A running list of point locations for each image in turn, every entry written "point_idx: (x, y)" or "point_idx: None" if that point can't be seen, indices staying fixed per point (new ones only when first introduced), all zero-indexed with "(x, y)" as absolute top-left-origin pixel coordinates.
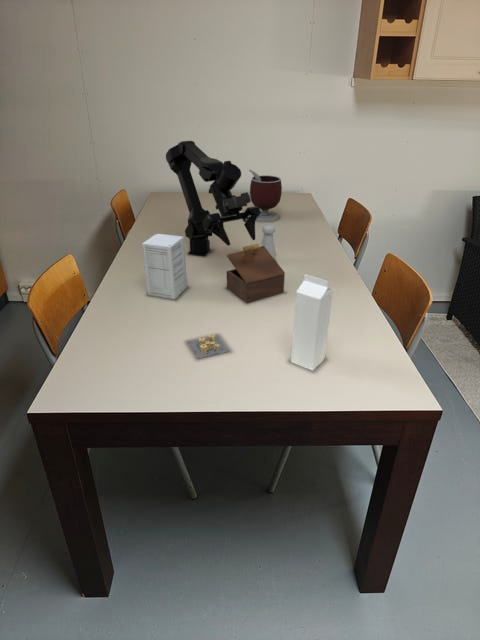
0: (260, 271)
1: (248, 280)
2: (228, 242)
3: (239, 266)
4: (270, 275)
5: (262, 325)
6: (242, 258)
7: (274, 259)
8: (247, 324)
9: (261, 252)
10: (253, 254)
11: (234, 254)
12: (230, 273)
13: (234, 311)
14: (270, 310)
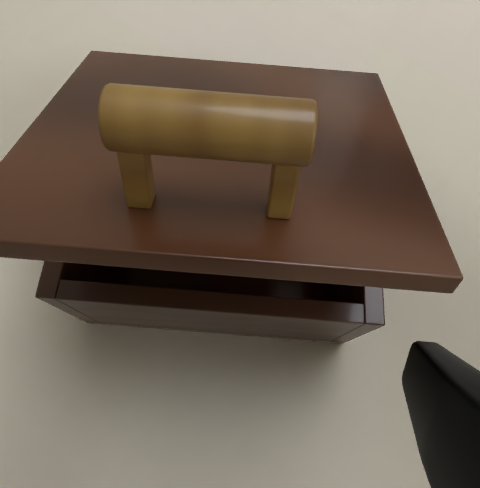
0: (240, 89)
1: (362, 79)
2: (453, 358)
3: (379, 149)
4: (197, 63)
5: (380, 10)
6: (311, 191)
7: (39, 114)
8: (426, 40)
9: (68, 185)
10: (168, 193)
11: (372, 250)
12: None
13: (425, 132)
14: (287, 63)
